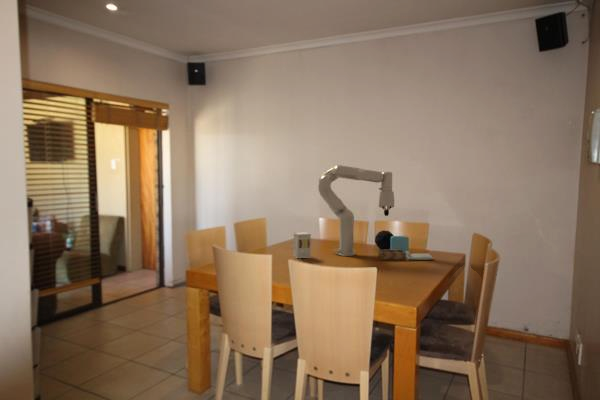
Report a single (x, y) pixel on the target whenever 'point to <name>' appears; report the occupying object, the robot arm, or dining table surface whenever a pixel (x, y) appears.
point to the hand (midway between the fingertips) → (386, 215)
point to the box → (391, 255)
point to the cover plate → (418, 256)
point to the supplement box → (302, 245)
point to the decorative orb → (383, 240)
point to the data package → (399, 243)
